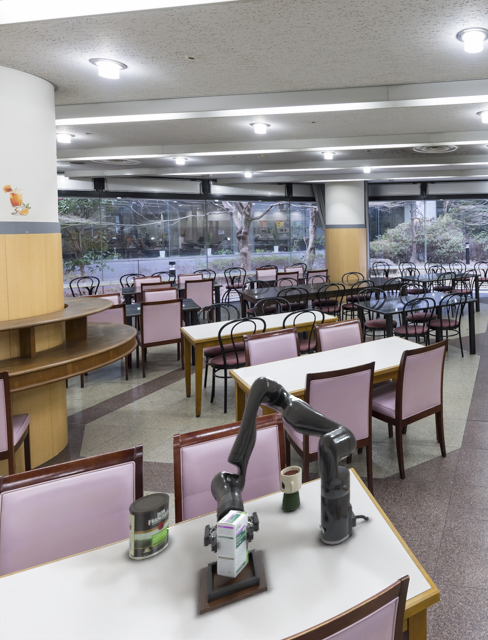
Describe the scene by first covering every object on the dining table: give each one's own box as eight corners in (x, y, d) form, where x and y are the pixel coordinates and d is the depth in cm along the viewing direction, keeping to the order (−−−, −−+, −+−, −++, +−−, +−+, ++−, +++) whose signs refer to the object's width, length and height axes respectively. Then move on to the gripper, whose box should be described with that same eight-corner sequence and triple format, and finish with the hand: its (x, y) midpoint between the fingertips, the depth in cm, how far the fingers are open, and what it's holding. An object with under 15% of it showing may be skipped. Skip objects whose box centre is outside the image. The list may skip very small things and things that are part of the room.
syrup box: (235, 578, 116) (235, 525, 116) (216, 575, 117) (216, 522, 117) (248, 562, 122) (248, 511, 122) (230, 559, 123) (230, 509, 123)
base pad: (260, 553, 130) (260, 543, 130) (267, 590, 116) (267, 579, 116) (200, 572, 123) (200, 561, 123) (199, 614, 108) (199, 602, 109)
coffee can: (176, 540, 136) (177, 495, 136) (145, 563, 126) (145, 515, 126) (153, 533, 139) (153, 489, 139) (120, 555, 129) (120, 508, 129)
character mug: (279, 501, 156) (280, 465, 156) (300, 497, 159) (300, 461, 159) (281, 519, 146) (281, 480, 146) (302, 514, 149) (302, 476, 149)
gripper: (204, 505, 129) (203, 539, 114) (255, 492, 136) (261, 522, 121) (204, 530, 129) (203, 567, 114) (255, 516, 136) (261, 549, 121)
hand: (233, 544), depth 118 cm, fingers closed on syrup box, 8 cm apart
